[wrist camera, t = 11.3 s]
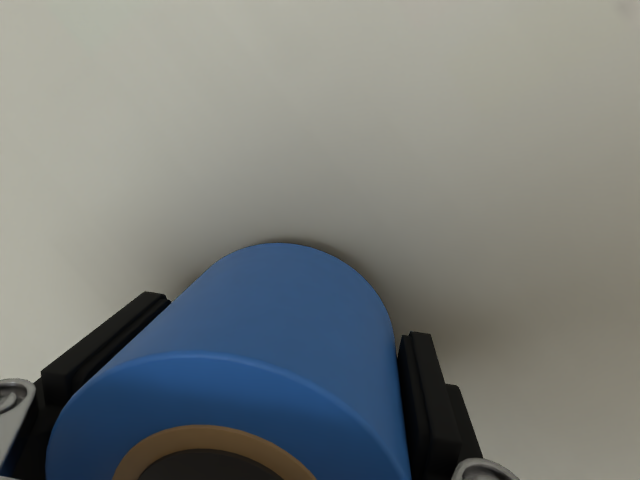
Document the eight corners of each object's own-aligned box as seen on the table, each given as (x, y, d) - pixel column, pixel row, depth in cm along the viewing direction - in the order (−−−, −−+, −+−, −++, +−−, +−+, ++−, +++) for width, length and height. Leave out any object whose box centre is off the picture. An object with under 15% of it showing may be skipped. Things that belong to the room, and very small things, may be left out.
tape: (412, 258, 11) (457, 398, 5) (376, 447, 13) (384, 690, 7) (182, 227, 11) (10, 327, 6) (182, 413, 13) (55, 616, 8)
